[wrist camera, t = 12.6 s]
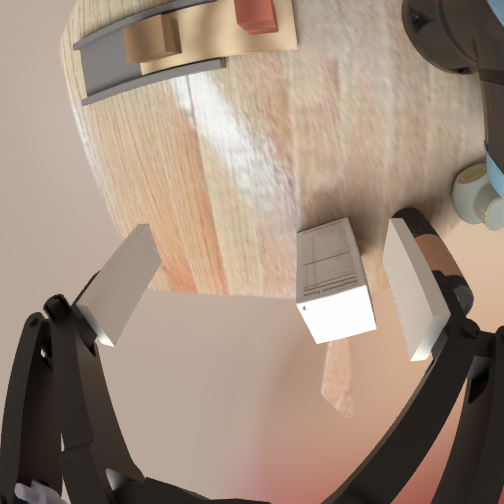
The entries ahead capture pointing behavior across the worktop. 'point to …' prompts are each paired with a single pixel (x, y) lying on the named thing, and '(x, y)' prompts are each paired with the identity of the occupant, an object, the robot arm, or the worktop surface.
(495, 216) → the air freshener
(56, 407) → the robot arm
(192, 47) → the strip
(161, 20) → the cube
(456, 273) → the travel mug
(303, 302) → the supplement box
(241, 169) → the worktop surface
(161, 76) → the lane board
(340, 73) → the worktop surface
